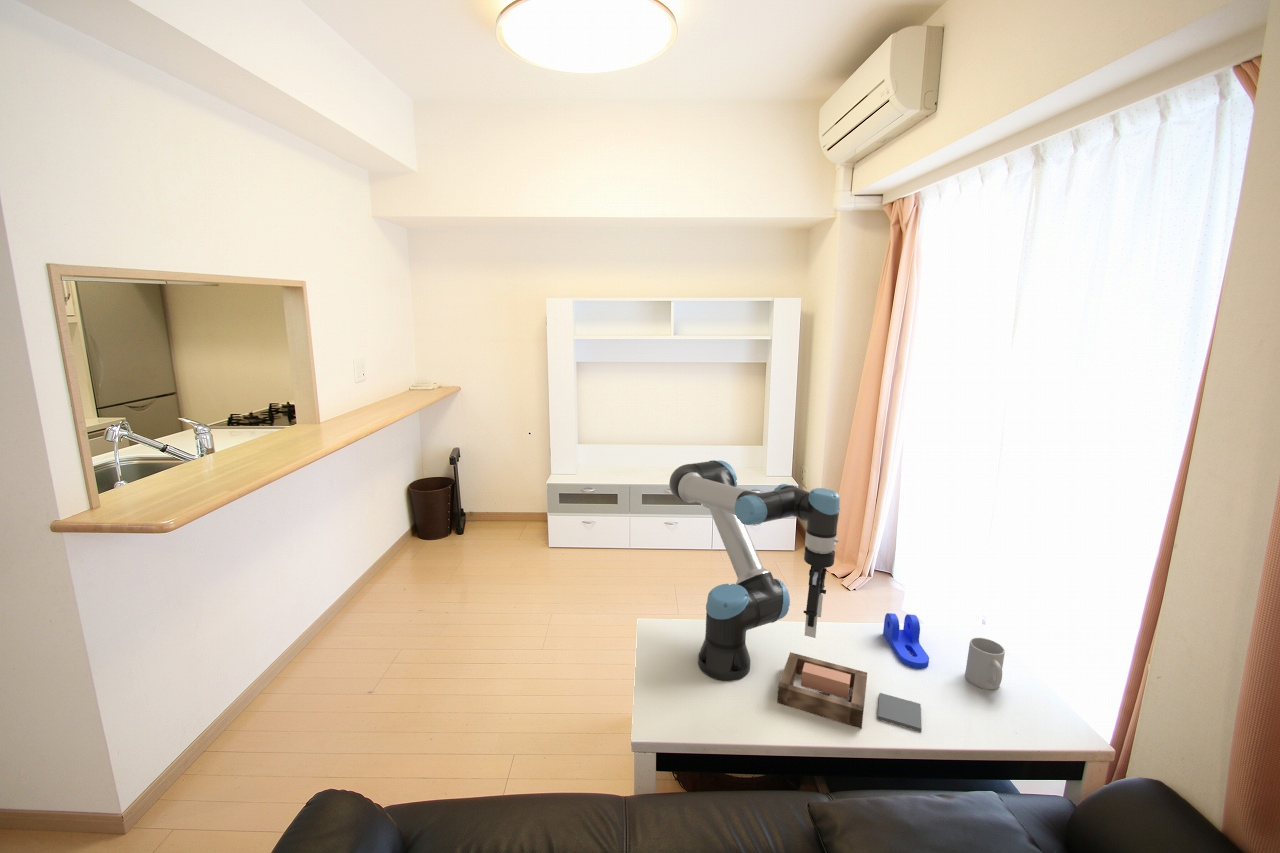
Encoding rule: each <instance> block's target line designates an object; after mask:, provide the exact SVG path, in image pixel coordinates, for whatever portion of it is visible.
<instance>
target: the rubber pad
mask: <svg viewBox="0 0 1280 853" xmlns="http://www.w3.org/2000/svg"><path fill="white" fill-rule="evenodd" d="M921 706H922V705H921V703H920V702H916V701H911V700H908V699H904V698H900V697H897V696H892V695H890V694H886V693H883V692H879V694H878V707H877V709H878V710H877V720H880V721H882V722H886V723H889V724H893V725H896V726H900V727H903V728H906V729H910V730H912V731H913V730H914V731H916V732H920V733H921V732H922V729H923V728H922V725H923V724H922V707H921Z"/></svg>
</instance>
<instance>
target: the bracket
mask: <svg viewBox="0 0 1280 853" xmlns="http://www.w3.org/2000/svg"><path fill="white" fill-rule="evenodd" d="M899 620H900V619H899V617H898V616H897V614H896V613H889V612H887V613H886V614H885V616H884V621H883V630H882V635H883V636H884V638H885V640H886V641H887V643H888V645H889V646H890V648H891V649H892V651H893V652H894V654H895V655H896V657H897V659H898V660H899V661H900V662H901V663H902V664H904V665H905V666H907V667H909V668H912V669H916V670H917V669H918V670H923V669H926V668H928V667H929V663H930V657H929V655H928V654H927V652H926V651H925V649H924V648H923V646H922V645H921V643H920V634H921V624H920V620H919V618H918V616H917V614H909V613H908V614H905V616H904V621H903V629H900V621H899Z"/></svg>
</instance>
